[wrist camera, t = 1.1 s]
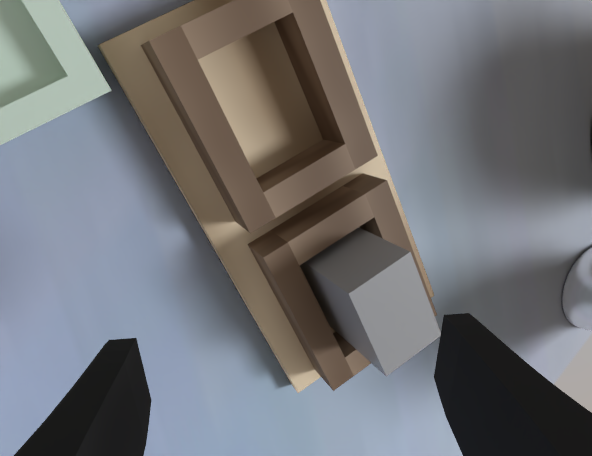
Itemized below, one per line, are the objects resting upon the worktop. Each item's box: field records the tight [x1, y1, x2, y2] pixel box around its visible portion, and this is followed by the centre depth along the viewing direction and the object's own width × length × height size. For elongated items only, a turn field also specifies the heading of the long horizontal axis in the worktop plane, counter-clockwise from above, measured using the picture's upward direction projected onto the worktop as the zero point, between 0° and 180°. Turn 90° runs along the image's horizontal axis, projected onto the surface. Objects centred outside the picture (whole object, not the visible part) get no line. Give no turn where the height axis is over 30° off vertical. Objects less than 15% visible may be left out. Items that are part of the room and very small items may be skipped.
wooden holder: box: [98, 0, 437, 393], centre depth 22 cm, size 9×18×3 cm, turn 25°
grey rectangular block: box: [300, 227, 441, 376], centre depth 22 cm, size 3×4×5 cm
